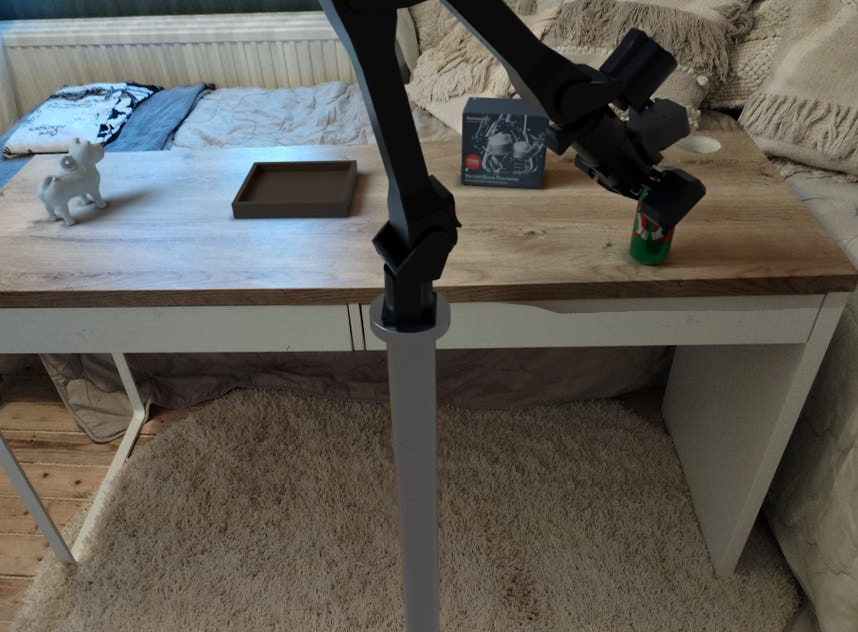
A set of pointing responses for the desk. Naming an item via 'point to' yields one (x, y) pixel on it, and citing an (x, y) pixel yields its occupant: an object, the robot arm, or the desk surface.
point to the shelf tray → (296, 190)
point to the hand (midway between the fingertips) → (666, 210)
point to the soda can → (650, 234)
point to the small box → (502, 143)
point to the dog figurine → (73, 180)
